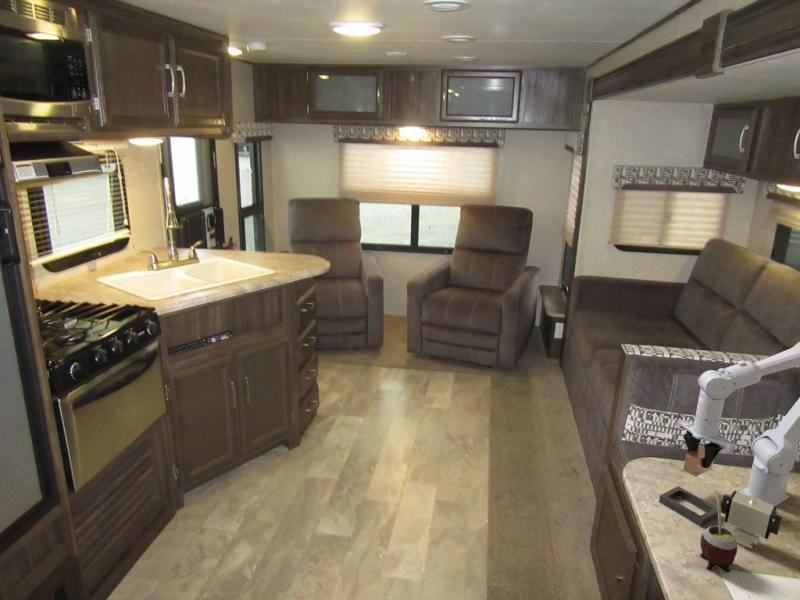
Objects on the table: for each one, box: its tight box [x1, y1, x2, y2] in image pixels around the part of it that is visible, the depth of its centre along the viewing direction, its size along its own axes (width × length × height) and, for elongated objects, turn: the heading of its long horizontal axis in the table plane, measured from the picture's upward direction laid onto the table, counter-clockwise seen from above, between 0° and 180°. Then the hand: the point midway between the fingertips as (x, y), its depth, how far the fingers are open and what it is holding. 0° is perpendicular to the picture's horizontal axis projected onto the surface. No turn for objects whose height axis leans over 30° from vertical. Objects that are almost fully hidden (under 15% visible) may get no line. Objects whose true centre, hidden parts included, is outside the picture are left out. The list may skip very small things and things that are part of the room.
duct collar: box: [658, 486, 718, 528], centre depth 145 cm, size 8×11×2 cm
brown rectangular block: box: [682, 445, 715, 477], centre depth 150 cm, size 7×4×5 cm, turn 120°
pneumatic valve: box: [720, 490, 784, 550], centre depth 132 cm, size 6×12×12 cm, turn 48°
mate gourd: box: [699, 490, 738, 573], centre depth 125 cm, size 8×8×15 cm
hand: (699, 463), depth 151 cm, fingers closed on brown rectangular block, 3 cm apart
